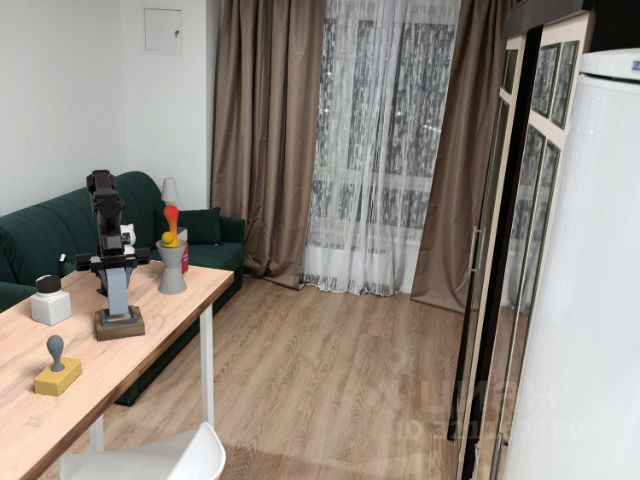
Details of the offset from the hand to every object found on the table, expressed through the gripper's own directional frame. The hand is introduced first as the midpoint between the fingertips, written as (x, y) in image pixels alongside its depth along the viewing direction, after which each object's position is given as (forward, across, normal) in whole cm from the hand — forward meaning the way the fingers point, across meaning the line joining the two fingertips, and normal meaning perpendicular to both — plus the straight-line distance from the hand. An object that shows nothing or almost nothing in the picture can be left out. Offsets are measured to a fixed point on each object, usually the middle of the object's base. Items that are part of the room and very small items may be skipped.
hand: (117, 289), depth 154 cm
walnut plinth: (+8, 0, +9) cm, 12 cm away
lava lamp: (-7, +18, +24) cm, 31 cm away
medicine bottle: (0, -16, +18) cm, 24 cm away
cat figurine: (-22, +5, +39) cm, 45 cm away
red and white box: (-14, +21, +32) cm, 41 cm away
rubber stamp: (+23, -15, -6) cm, 29 cm away
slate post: (+4, 0, +6) cm, 7 cm away
